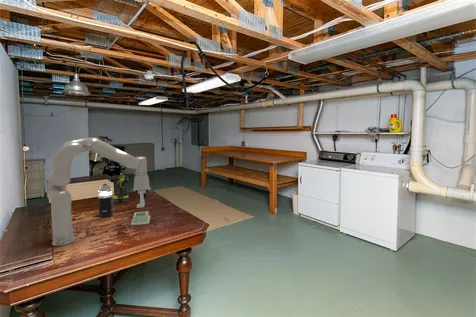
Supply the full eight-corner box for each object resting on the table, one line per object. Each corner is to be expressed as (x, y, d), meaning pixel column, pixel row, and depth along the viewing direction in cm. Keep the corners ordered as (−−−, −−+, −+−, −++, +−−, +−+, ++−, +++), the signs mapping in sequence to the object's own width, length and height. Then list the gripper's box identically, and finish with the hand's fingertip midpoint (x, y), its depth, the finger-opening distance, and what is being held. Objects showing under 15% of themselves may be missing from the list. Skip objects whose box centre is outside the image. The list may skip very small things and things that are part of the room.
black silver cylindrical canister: (97, 218, 187) (95, 185, 184) (100, 213, 196) (99, 182, 194) (112, 217, 189) (110, 185, 187) (114, 212, 199) (113, 182, 197)
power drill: (110, 201, 233) (109, 174, 230) (129, 199, 238) (128, 174, 235) (108, 203, 224) (107, 176, 221) (128, 202, 229) (127, 175, 226)
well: (149, 223, 176) (148, 216, 176) (130, 225, 173) (130, 218, 173) (150, 216, 192) (150, 210, 191) (133, 217, 188) (133, 211, 188)
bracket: (143, 207, 179) (143, 190, 178) (136, 207, 178) (136, 191, 176) (144, 204, 185) (144, 189, 184) (137, 205, 183) (137, 189, 182)
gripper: (128, 175, 173) (129, 200, 175) (152, 174, 178) (153, 199, 180) (130, 173, 180) (131, 198, 182) (153, 172, 185) (154, 196, 187)
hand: (142, 198), depth 181 cm, fingers closed on bracket, 2 cm apart
